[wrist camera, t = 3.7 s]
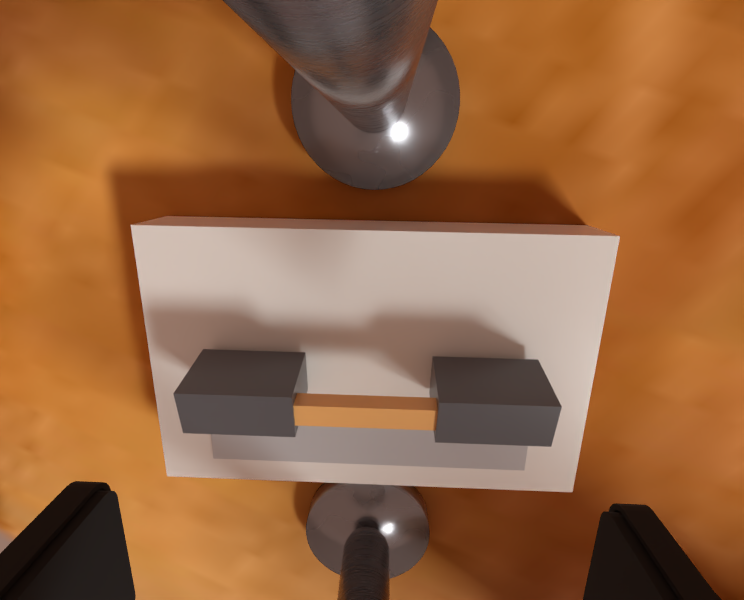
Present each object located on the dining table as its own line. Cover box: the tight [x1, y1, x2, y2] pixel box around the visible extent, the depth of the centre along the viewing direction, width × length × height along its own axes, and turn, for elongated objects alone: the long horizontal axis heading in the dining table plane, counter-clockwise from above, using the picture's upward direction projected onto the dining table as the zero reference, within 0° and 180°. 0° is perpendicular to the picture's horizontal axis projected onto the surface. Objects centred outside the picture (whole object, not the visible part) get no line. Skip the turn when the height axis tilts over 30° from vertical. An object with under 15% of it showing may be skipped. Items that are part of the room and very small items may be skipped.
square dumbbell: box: [173, 349, 562, 447], centre depth 15 cm, size 2×12×2 cm, turn 89°
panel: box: [131, 216, 620, 492], centre depth 17 cm, size 10×16×3 cm, turn 89°
